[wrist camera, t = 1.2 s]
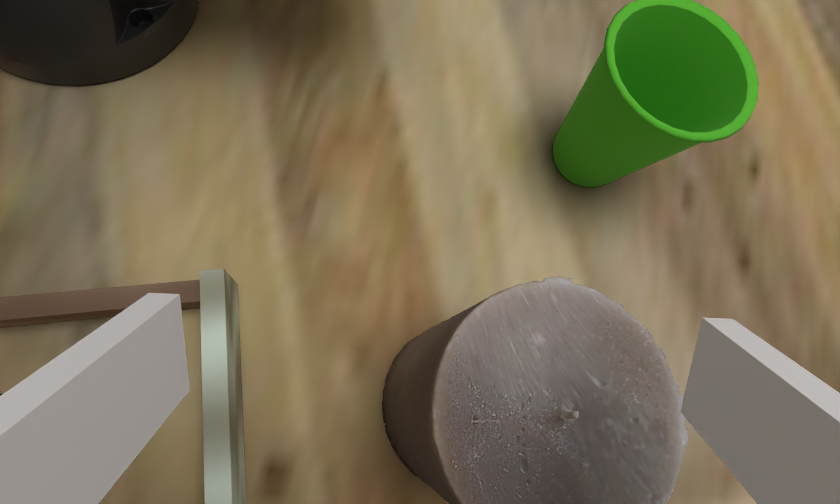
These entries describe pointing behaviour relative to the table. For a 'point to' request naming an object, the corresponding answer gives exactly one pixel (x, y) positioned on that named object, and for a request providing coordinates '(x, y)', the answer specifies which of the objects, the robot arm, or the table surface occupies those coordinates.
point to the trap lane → (217, 353)
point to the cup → (656, 91)
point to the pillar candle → (538, 402)
